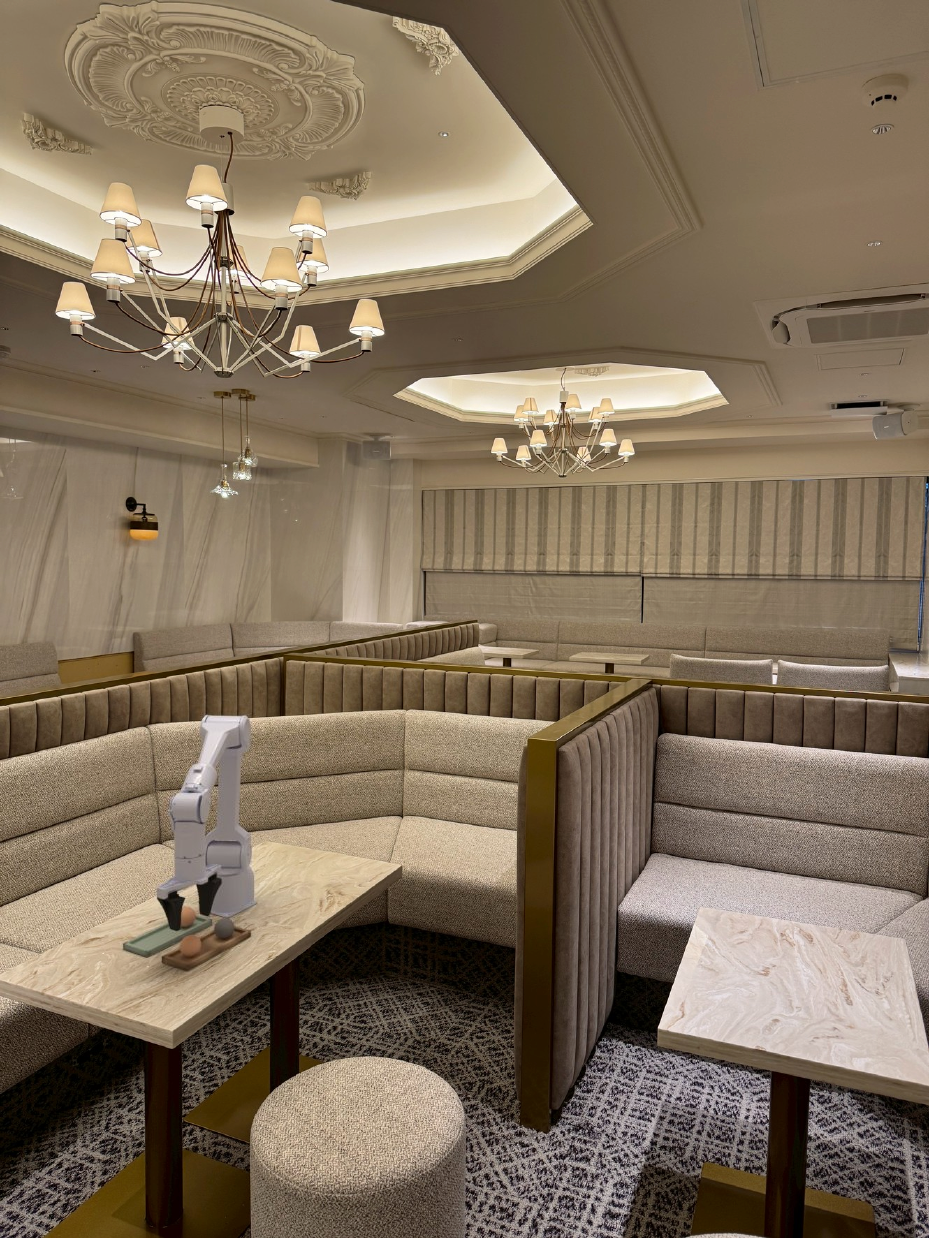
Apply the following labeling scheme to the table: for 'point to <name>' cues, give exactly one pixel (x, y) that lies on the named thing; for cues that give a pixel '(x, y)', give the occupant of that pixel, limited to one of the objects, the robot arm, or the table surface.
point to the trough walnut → (205, 949)
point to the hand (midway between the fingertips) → (190, 922)
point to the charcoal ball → (224, 928)
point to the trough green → (163, 937)
